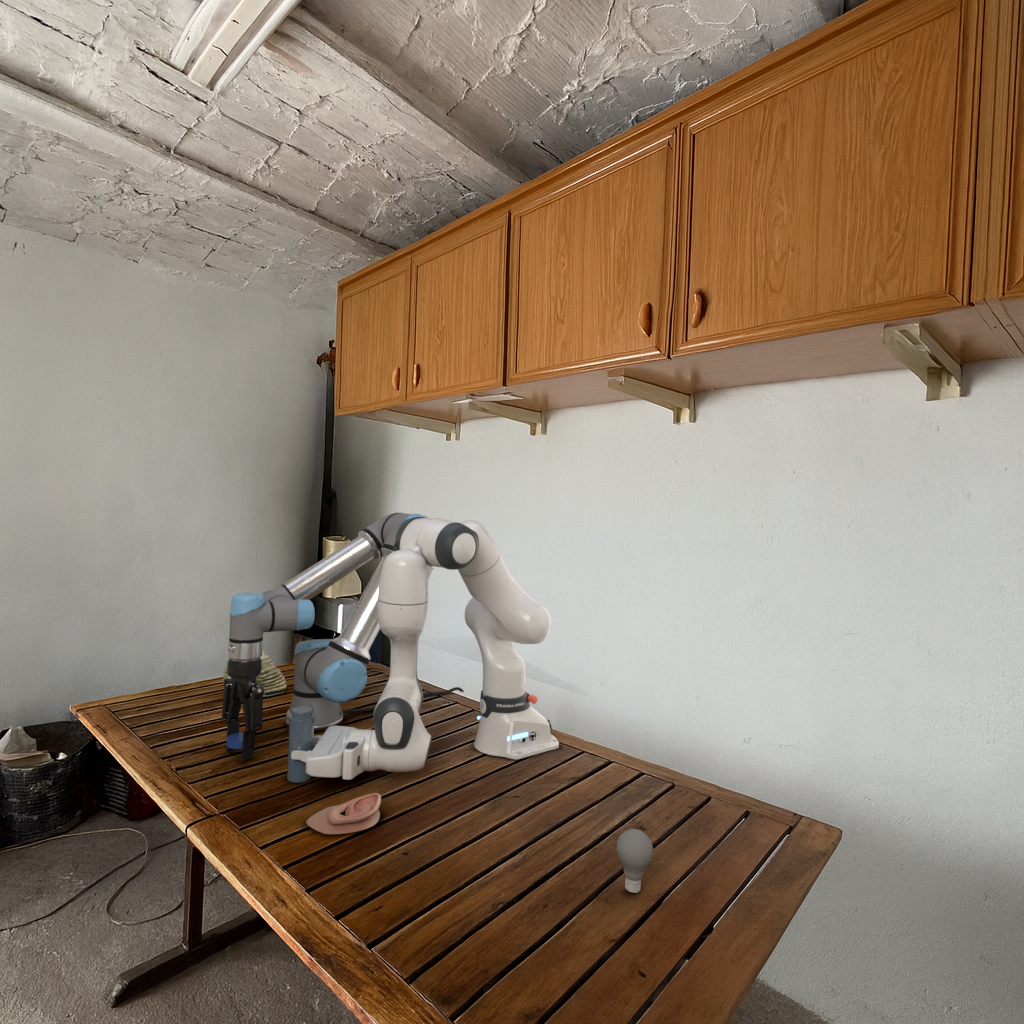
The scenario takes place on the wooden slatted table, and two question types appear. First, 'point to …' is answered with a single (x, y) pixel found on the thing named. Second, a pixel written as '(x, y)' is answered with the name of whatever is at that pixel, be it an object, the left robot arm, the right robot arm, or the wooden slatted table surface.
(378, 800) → the anatomical model
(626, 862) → the light bulb
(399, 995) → the wooden slatted table surface
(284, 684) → the fossil
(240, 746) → the lid
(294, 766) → the jar
